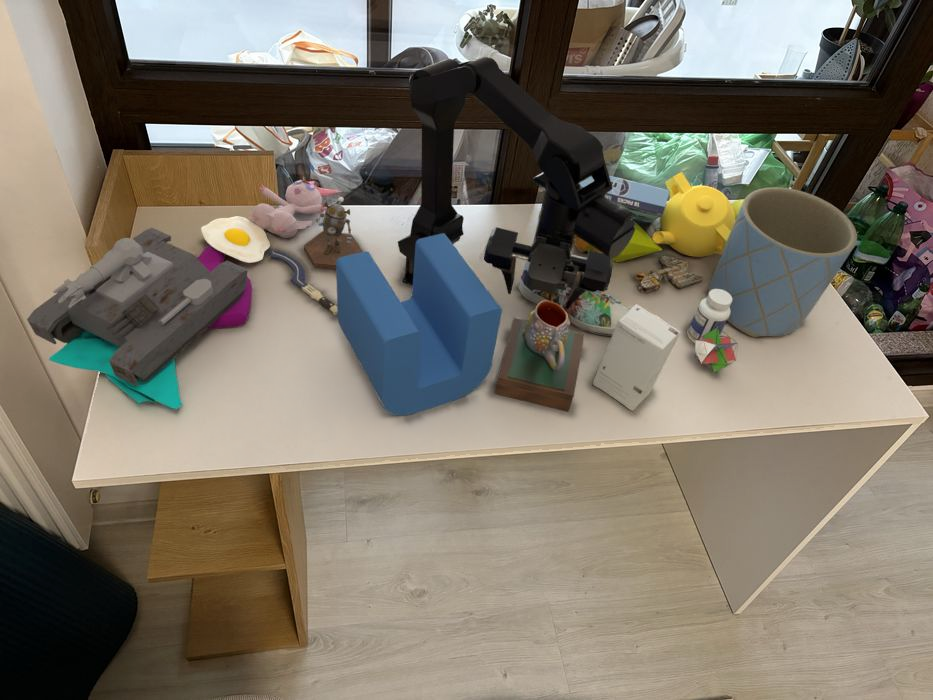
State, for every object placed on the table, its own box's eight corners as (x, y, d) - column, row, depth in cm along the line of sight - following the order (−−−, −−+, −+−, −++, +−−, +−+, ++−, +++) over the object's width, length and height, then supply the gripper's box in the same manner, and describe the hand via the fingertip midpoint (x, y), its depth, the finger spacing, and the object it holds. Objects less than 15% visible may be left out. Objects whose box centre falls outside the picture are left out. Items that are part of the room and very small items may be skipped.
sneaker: (619, 349, 126) (634, 307, 119) (509, 299, 132) (517, 256, 125) (634, 324, 131) (649, 282, 124) (528, 276, 137) (536, 235, 130)
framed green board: (494, 393, 116) (497, 376, 113) (510, 333, 126) (513, 316, 123) (568, 411, 116) (574, 394, 112) (579, 350, 125) (584, 332, 122)
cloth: (93, 300, 119) (97, 311, 121) (24, 350, 109) (28, 361, 111) (229, 357, 113) (230, 368, 115) (167, 416, 104) (170, 426, 105)
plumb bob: (654, 245, 148) (535, 212, 146) (673, 217, 141) (548, 182, 139) (651, 281, 144) (529, 248, 142) (671, 254, 136) (542, 218, 134)
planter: (750, 355, 129) (800, 267, 114) (682, 286, 140) (719, 198, 125) (826, 326, 136) (882, 241, 121) (755, 264, 147) (799, 178, 132)
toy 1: (158, 250, 127) (136, 176, 116) (252, 292, 122) (238, 218, 111) (37, 341, 111) (-2, 266, 100) (139, 394, 106) (109, 320, 95)
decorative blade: (277, 247, 136) (255, 257, 132) (277, 243, 135) (255, 253, 132) (356, 305, 127) (334, 317, 124) (356, 301, 127) (334, 312, 124)
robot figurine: (297, 265, 132) (293, 210, 123) (306, 233, 138) (303, 179, 130) (359, 271, 133) (359, 217, 124) (365, 239, 139) (366, 185, 131)
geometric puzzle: (756, 346, 122) (727, 374, 119) (732, 358, 128) (704, 385, 125) (727, 313, 122) (698, 340, 119) (704, 327, 129) (676, 353, 126)
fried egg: (250, 269, 127) (251, 264, 127) (190, 234, 127) (191, 229, 127) (285, 241, 137) (286, 236, 136) (229, 208, 137) (230, 204, 136)
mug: (519, 327, 121) (525, 297, 117) (559, 326, 122) (567, 297, 118) (532, 382, 113) (539, 353, 108) (575, 381, 114) (584, 352, 110)
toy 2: (228, 200, 133) (295, 150, 146) (234, 230, 138) (299, 179, 151) (294, 227, 129) (357, 174, 142) (297, 257, 134) (359, 202, 147)
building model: (673, 254, 147) (675, 247, 146) (710, 278, 142) (713, 271, 141) (621, 281, 140) (623, 273, 139) (659, 307, 135) (661, 299, 133)
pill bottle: (717, 331, 132) (738, 291, 125) (714, 351, 128) (735, 311, 121) (688, 322, 133) (706, 282, 126) (684, 342, 129) (703, 301, 122)
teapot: (619, 220, 151) (625, 194, 140) (692, 173, 152) (703, 144, 141) (680, 295, 145) (691, 274, 134) (755, 246, 146) (772, 221, 136)
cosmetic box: (591, 385, 120) (613, 319, 109) (610, 365, 123) (634, 300, 113) (634, 413, 117) (662, 349, 106) (653, 393, 120) (682, 328, 109)
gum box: (562, 200, 156) (556, 191, 133) (568, 176, 155) (563, 163, 133) (652, 223, 153) (662, 218, 131) (659, 199, 152) (670, 189, 130)
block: (381, 424, 110) (384, 340, 97) (338, 343, 120) (335, 258, 107) (486, 389, 117) (502, 307, 104) (437, 315, 127) (446, 232, 114)
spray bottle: (181, 332, 118) (192, 238, 135) (252, 328, 120) (253, 236, 137) (178, 318, 116) (189, 225, 133) (250, 314, 118) (252, 223, 135)
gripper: (482, 237, 99) (468, 319, 111) (618, 271, 98) (590, 350, 109) (499, 192, 107) (484, 273, 118) (625, 222, 106) (598, 301, 117)
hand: (538, 299), depth 115 cm, fingers open, 9 cm apart
